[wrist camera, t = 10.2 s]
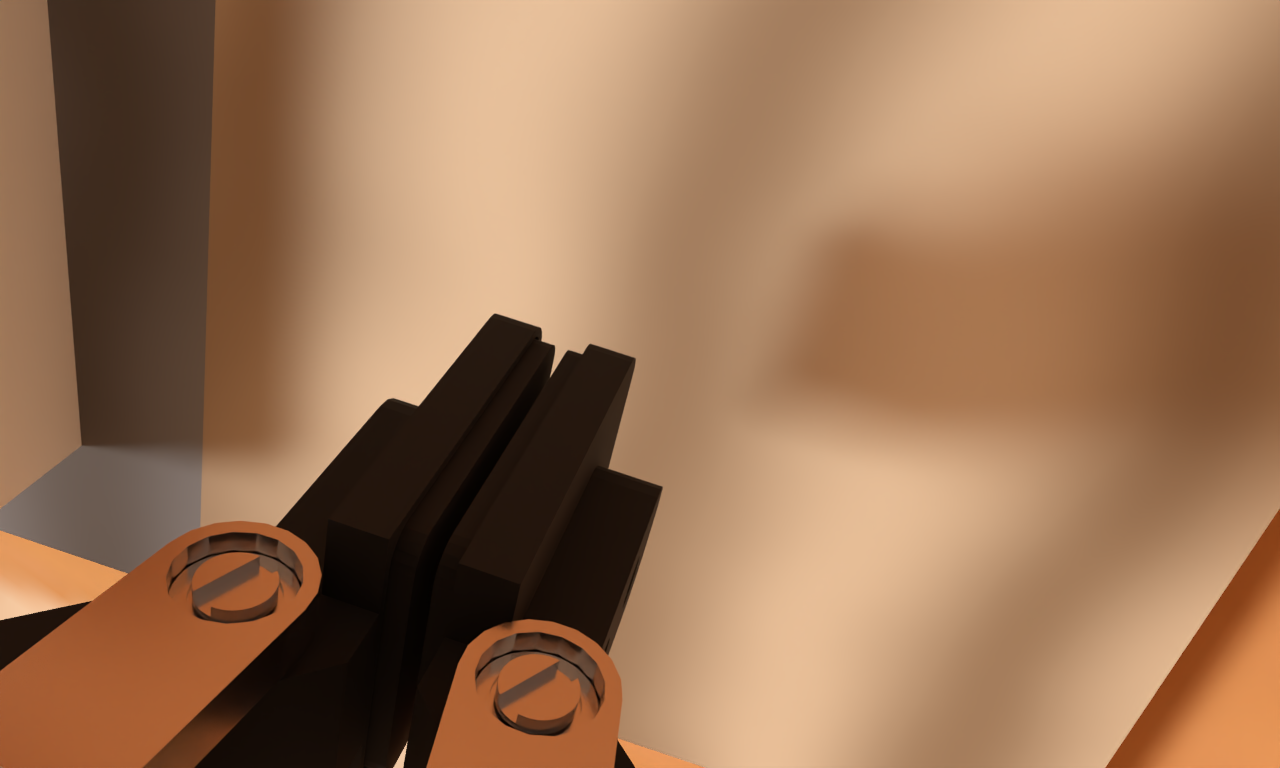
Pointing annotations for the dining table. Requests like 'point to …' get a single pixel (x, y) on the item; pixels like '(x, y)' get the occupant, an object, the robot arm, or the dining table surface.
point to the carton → (32, 261)
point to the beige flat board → (722, 322)
